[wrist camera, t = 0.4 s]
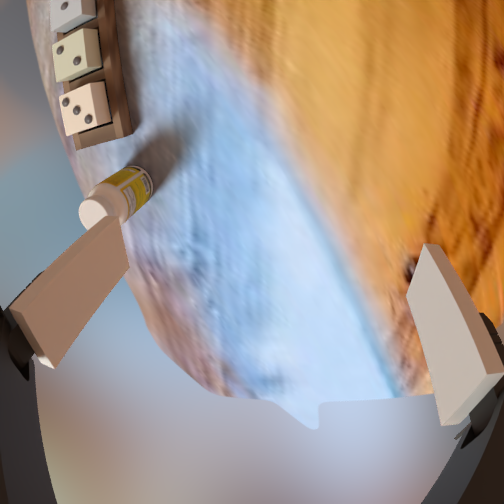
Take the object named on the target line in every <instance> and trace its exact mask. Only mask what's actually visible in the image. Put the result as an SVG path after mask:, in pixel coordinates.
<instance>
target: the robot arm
mask: <svg viewBox="0 0 504 504" xmlns="http://www.w3.org/2000/svg"><path fill="white" fill-rule="evenodd" d="M129 268H130V267H129V262H128V258H127V254H126V249H125V245H124V240H123V236H122V231H121V226H120V221H119V216H105V217H103V218H102V219H101V220H100V221H99V222H97V223H96V224H95V225H94V226H93V227H91V228H90V229H89V230H88V231H87V232H86V233H85V234H84V235H82V236H81V237H80V238H79V239H78V240H77V241H76V242H74V243H73V244H72V245H71V246H70V247H69V248H68V249H67V250H66V251H65V252H63V254H61V255H60V256H59V257H58V258H57V259H56V260H55V261H54V262H53V263H52V264H51V265H50V266H49V267H48V268H47V269H46V270H44V271H43V272H41V273H40V274H38V275H37V276H36V278H34V280H32V283H30V284H29V285H28V286H27V287H26V289H24V290H23V291H22V292H21V293H20V294H19V295H18V296H17V297H16V298H15V299H14V300H13V301H12V302H11V304H10V305H9V306H8V307H7V308H6V309H5V310H4V311H3V310H2V308H1V306H0V504H57V501H56V498H55V494H54V491H53V488H52V484H51V479H50V475H49V471H48V467H47V462H46V458H45V453H44V447H43V442H42V436H41V430H40V423H39V415H38V408H37V397H36V385H35V367H34V362H33V360H32V358H31V357H32V356H33V354H34V353H35V354H36V355H37V357H38V359H39V360H40V362H41V363H42V364H44V365H47V366H49V367H51V368H54V369H55V368H56V367H57V365H58V364H59V362H60V361H61V359H62V358H63V356H64V355H65V354H66V352H67V350H68V349H69V348H70V346H71V345H72V343H73V342H74V340H75V339H76V338H77V336H78V335H79V333H80V332H81V331H82V329H83V328H84V326H85V325H86V324H87V322H88V321H89V320H90V318H91V317H92V315H93V314H94V313H95V311H96V310H97V309H98V307H99V306H100V305H101V303H102V302H103V301H104V299H105V298H106V297H107V295H108V294H109V293H110V292H111V290H112V289H113V288H114V286H115V285H116V284H117V283H118V281H119V280H120V279H121V278H122V276H123V275H124V274H125V273H126V271H127V270H128V269H129ZM406 297H407V300H408V303H409V306H410V309H411V312H412V315H413V318H414V321H415V324H416V327H417V331H418V334H419V337H420V341H421V344H422V347H423V351H424V354H425V358H426V362H427V366H428V369H429V373H430V377H431V381H432V385H433V390H434V394H435V398H436V402H437V407H438V412H439V417H440V423H441V426H446V425H452V424H459V423H461V422H462V421H463V419H465V418H466V417H467V416H468V415H470V420H471V422H470V424H468V425H467V426H466V427H465V428H464V429H463V430H462V431H461V432H460V433H459V434H458V435H457V436H456V437H455V438H454V439H456V440H457V439H458V438H459V437H460V436H462V437H461V439H460V441H459V443H458V444H457V446H456V449H455V450H454V452H453V454H452V456H451V457H450V459H449V461H448V463H447V464H446V466H445V468H444V470H443V471H442V473H441V474H440V476H439V478H438V479H437V481H436V482H435V484H434V485H433V487H432V488H431V490H430V491H429V493H428V495H427V496H426V497H425V499H424V500H423V502H422V503H421V504H504V345H503V344H502V341H501V339H500V337H499V336H498V335H497V334H498V333H497V331H496V329H495V327H494V325H493V323H492V322H491V321H490V319H489V318H488V317H487V316H486V315H485V314H484V313H479V312H478V310H477V308H476V307H475V305H474V303H473V301H472V299H471V297H470V295H469V294H468V292H467V290H466V288H465V287H464V285H463V283H462V281H461V280H460V278H459V276H458V275H457V273H456V271H455V270H454V268H453V266H452V265H451V263H450V261H449V260H448V258H447V257H446V255H445V253H444V252H443V250H442V249H441V247H440V246H439V245H434V244H426V243H424V245H423V248H422V251H421V254H420V257H419V261H418V264H417V267H416V269H415V272H414V275H413V278H412V281H411V284H410V287H409V289H408V292H407V295H406Z"/></svg>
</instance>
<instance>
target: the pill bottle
mask: <svg viewBox="0 0 504 504" xmlns="http://www.w3.org/2000/svg"><path fill="white" fill-rule="evenodd" d="M152 192H153V183H152V180H151V178H150V176H149V174H148V173H147V172H146V171H145V170H144V169H142V168H140V167H138V166H127V167H125V168H123V169H121V170H120V171H118V172H116V173H115V174H113V175H112V176H110V177H108V178H107V179H105V180H104V181H102V182H101V183H99V184H97V185H96V186H95V187H94V188H93V189H92V190H91V191H90V193H89V195H88V198H87V199H85V200H84V201H83V202H82V203H81V205H80V208H79V217H80V220H81V222H82V223H83V225H84V227H85V228H86V229H87V230H89V229H90V228H91V227H93V226H94V225H95V224H96V223H97V222H99V221H100V220H101V219H102V218H103V217H105V216H119V221H120V226H121V225H122V224H124V223H125V222H126V221H127V220H128V219H129V218H130V217H131V216H132V215H133V214H134V213H135V212H136V211H138V210H139V209H140V208H141V207H142V206H143V205H144V204H145V203H146V202H147V201H148V200H149V199H150V197H151V195H152Z"/></svg>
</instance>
